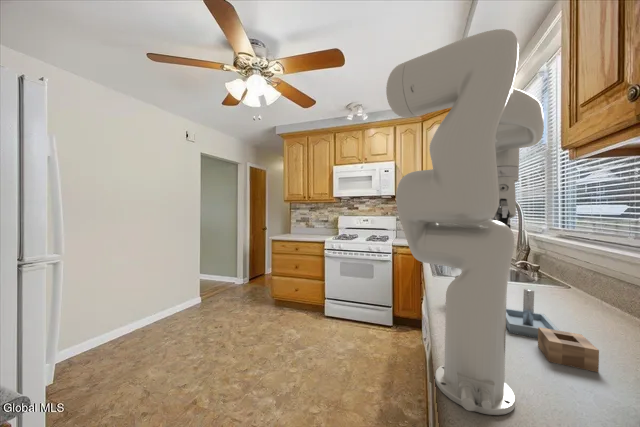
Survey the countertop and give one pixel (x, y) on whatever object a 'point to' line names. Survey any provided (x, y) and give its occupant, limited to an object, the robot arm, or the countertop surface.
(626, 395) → the countertop surface
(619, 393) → the countertop surface
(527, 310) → the pin
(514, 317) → the tray
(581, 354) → the bore block
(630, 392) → the countertop surface
